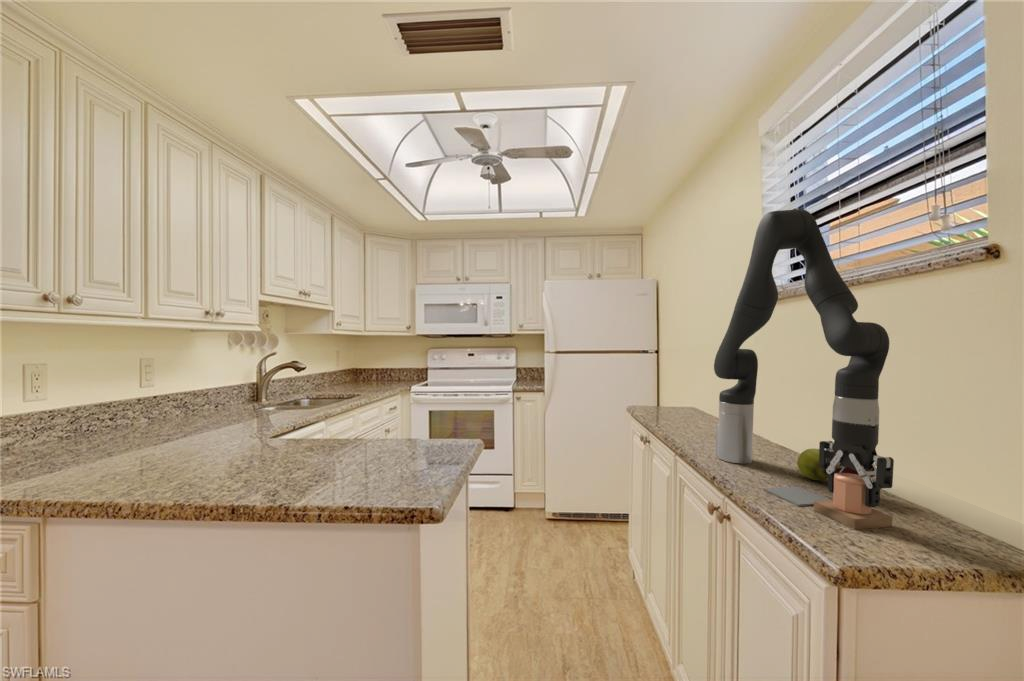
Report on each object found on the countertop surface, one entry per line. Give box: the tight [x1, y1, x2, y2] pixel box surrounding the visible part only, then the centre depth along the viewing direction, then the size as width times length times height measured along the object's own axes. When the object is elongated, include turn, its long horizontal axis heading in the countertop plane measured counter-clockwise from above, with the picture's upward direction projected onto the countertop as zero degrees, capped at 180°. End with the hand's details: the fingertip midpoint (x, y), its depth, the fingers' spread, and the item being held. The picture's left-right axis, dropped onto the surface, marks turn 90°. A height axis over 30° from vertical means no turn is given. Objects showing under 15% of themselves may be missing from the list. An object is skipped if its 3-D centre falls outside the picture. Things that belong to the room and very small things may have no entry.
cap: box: [832, 473, 873, 514], centre depth 90 cm, size 6×6×6 cm
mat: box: [763, 486, 831, 507], centre depth 101 cm, size 10×10×1 cm
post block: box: [813, 499, 893, 530], centre depth 90 cm, size 9×9×7 cm
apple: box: [796, 448, 828, 481], centre depth 114 cm, size 8×9×8 cm
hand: (852, 499), depth 90 cm, fingers open, 7 cm apart
